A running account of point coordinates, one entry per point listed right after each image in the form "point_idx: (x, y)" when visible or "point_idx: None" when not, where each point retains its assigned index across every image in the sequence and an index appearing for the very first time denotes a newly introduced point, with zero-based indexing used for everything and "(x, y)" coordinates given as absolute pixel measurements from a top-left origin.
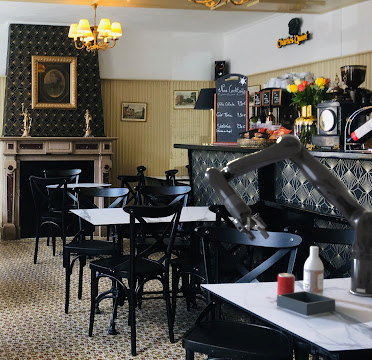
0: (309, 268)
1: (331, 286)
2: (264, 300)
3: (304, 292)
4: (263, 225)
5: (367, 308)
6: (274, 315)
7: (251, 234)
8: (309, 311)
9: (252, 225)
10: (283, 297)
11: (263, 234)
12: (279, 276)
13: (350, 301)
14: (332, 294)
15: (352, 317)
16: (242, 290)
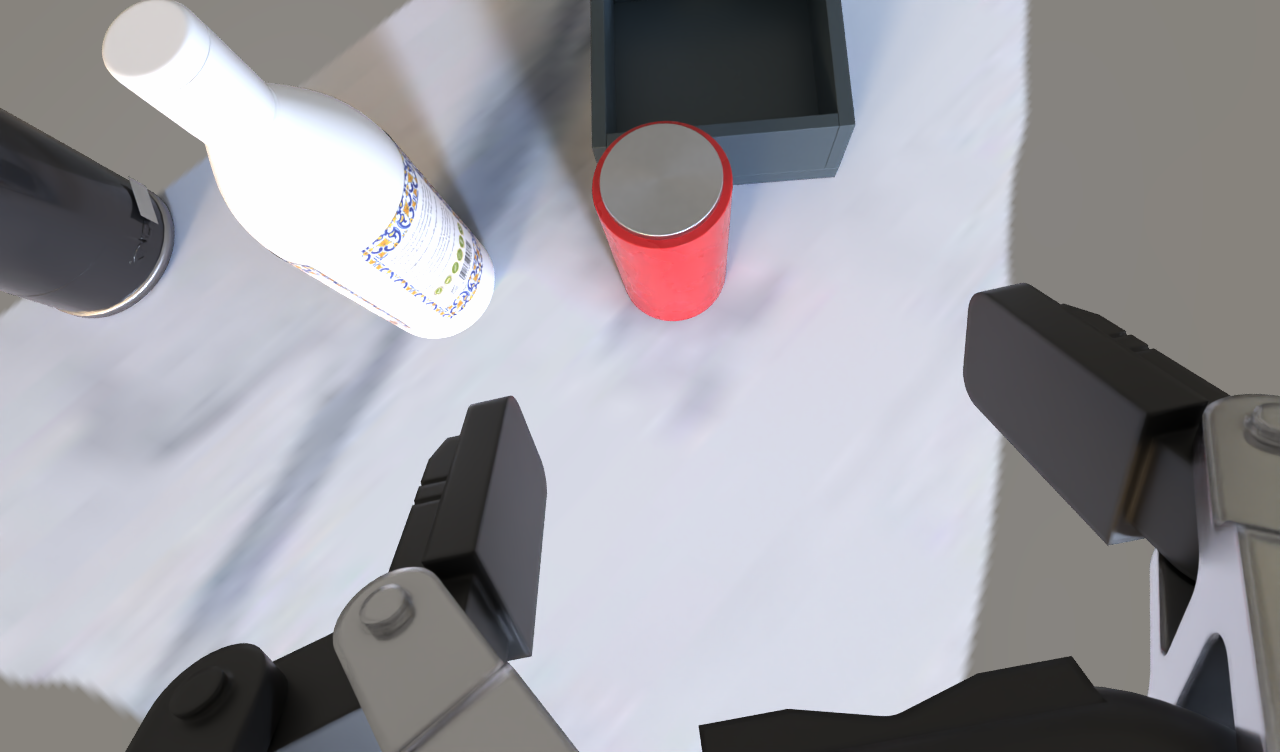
0: (396, 157)
1: (93, 465)
2: (780, 347)
3: (609, 137)
4: (263, 739)
5: (370, 32)
6: (950, 72)
7: (1097, 351)
8: None
9: (875, 748)
10: (848, 75)
11: (527, 529)
12: (732, 186)
13: None
14: (271, 306)
15: None
16: (741, 644)
